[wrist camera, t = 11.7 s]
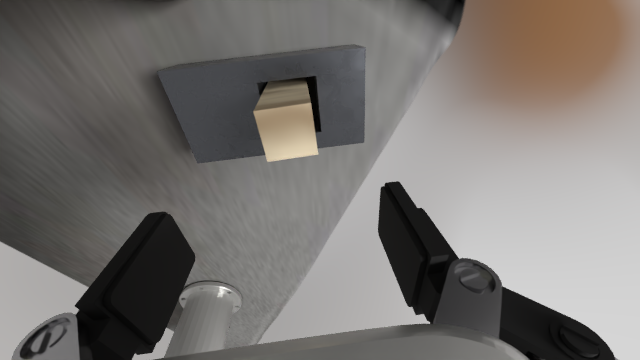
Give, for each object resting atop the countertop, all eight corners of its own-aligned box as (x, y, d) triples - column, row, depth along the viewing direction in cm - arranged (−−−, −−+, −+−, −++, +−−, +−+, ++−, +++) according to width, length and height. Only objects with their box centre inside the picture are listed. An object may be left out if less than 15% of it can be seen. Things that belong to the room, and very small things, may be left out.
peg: (310, 112, 30) (318, 154, 20) (276, 117, 30) (267, 162, 20) (305, 76, 28) (310, 102, 18) (268, 81, 28) (253, 111, 18)
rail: (355, 127, 32) (364, 142, 28) (210, 145, 31) (197, 163, 27) (354, 44, 26) (365, 47, 22) (178, 64, 26) (156, 71, 22)
